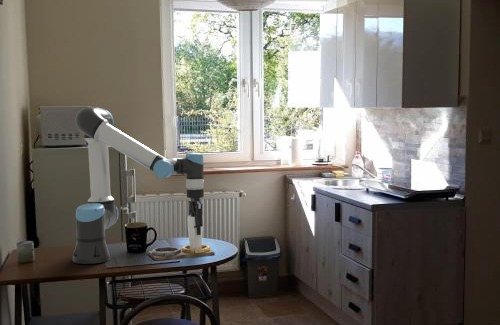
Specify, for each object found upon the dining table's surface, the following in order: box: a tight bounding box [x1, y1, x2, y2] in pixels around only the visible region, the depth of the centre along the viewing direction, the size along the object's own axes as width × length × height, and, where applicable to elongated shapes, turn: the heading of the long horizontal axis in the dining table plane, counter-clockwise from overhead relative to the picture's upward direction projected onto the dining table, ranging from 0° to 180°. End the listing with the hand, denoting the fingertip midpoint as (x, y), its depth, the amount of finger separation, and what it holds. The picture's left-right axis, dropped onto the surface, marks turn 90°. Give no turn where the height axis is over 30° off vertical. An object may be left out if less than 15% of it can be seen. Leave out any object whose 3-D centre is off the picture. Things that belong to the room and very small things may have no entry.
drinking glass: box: [187, 214, 204, 249], centre depth 255 cm, size 7×7×15 cm
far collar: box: [181, 244, 211, 253], centre depth 256 cm, size 12×12×2 cm
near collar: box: [151, 246, 181, 256], centre depth 251 cm, size 12×12×2 cm
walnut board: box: [148, 247, 215, 261], centre depth 253 cm, size 26×13×1 cm, turn 112°
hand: (195, 240), depth 255 cm, fingers closed on drinking glass, 7 cm apart
